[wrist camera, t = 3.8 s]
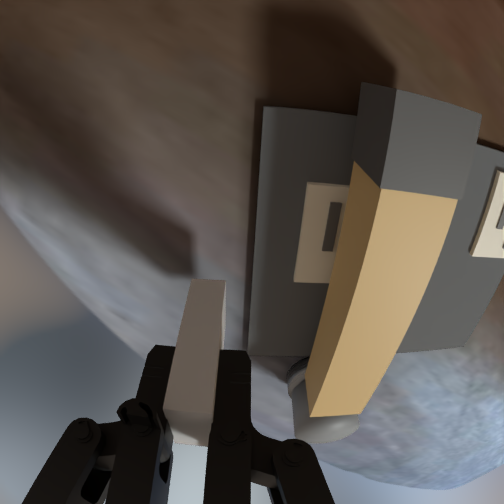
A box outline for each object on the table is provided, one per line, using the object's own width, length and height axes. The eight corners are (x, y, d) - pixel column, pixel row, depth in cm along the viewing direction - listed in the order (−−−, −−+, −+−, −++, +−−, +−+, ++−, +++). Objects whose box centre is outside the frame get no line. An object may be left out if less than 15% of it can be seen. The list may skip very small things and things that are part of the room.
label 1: (305, 178, 14) (308, 185, 13) (390, 187, 14) (396, 194, 13) (292, 273, 16) (294, 283, 16) (366, 276, 16) (371, 285, 16)
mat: (263, 105, 12) (263, 106, 12) (538, 164, 12) (542, 167, 12) (247, 350, 19) (247, 355, 19) (461, 342, 20) (463, 346, 19)
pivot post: (291, 354, 20) (293, 369, 19) (357, 353, 20) (361, 367, 19) (283, 391, 22) (284, 405, 21) (341, 390, 22) (343, 403, 21)
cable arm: (350, 79, 10) (383, 86, 7) (442, 101, 10) (490, 117, 7) (287, 406, 21) (290, 446, 18) (342, 404, 21) (349, 442, 18)
